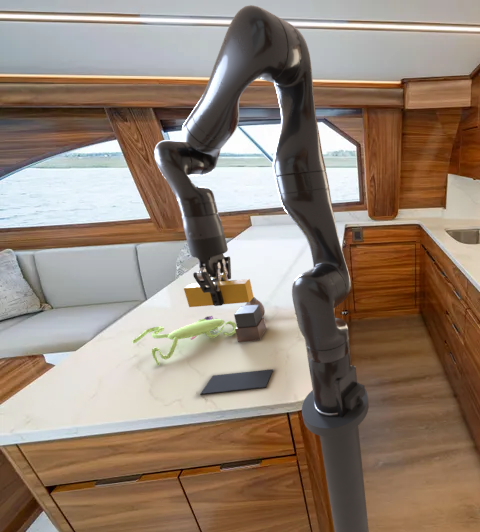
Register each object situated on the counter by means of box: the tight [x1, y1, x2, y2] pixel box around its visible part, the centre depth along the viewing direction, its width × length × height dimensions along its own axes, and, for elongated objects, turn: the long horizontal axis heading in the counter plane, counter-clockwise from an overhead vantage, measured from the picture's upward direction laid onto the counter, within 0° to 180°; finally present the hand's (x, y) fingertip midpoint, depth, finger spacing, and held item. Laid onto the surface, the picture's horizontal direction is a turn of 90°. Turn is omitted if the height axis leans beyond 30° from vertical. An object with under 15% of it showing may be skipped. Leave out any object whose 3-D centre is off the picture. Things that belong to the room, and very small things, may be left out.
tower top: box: [233, 305, 262, 328], centre depth 99 cm, size 6×6×5 cm
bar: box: [183, 278, 254, 308], centre depth 73 cm, size 14×3×5 cm, turn 97°
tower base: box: [235, 316, 267, 343], centre depth 101 cm, size 7×7×5 cm
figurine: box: [131, 315, 237, 366], centre depth 99 cm, size 18×27×6 cm
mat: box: [199, 368, 274, 396], centre depth 80 cm, size 16×7×1 cm, turn 97°
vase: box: [244, 296, 265, 317], centre depth 111 cm, size 7×7×9 cm
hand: (222, 301), depth 74 cm, fingers closed on bar, 3 cm apart
